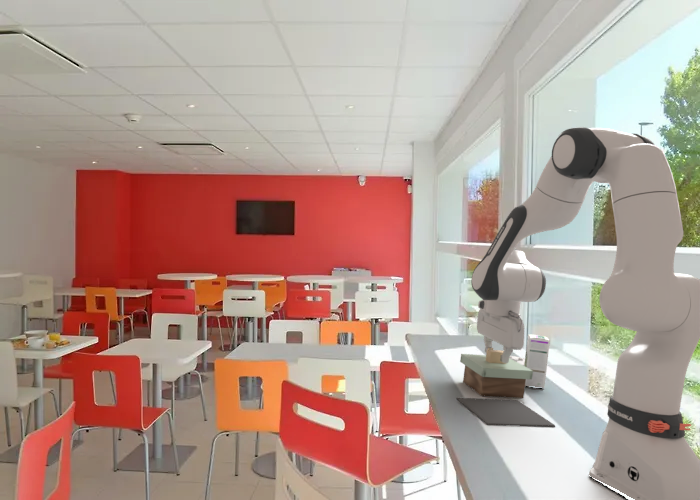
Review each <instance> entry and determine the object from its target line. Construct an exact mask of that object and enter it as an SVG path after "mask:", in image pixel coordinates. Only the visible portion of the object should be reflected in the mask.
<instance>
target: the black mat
mask: <svg viewBox="0 0 700 500" xmlns="http://www.w3.org/2000/svg"><path fill="white" fill-rule="evenodd" d="M456 400H457V401H458V402H459V403H461V404H462V405H463V406H464V407H465V408H467V409H468V410H469V411H470V412H471V413H472V414H474V415H475V416H476V417H478V419H479V420H480V421H482V422H483V423H485V425H487V426H506V425H520V426H519V427H546V428H548V427H549V428H555V427H556V425H555V424H554V423H552V422H551V421H550V420H548V419H546V418H545V417H543V416H542V415H540V414H539V413H538V412H536V411H535V410H533V409H531V408H530V407H528V406H527V405H525V404H524V403H523V402H521V401H520V400H518V399H504V398H503V399H502V398H501V399H500V398H479V397H475V398H474V397H456Z"/></svg>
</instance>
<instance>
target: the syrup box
mask: <svg viewBox="0 0 700 500" xmlns="http://www.w3.org/2000/svg"><path fill="white" fill-rule="evenodd" d="M550 342H551V340H550V339H549V338H548V336H545V335H542V334H541V335H540V334H529V333H528V334H527V339H526V347H525V355H524V356H525V357H524V359H525V363H524V366H525V367H527V368H529V369H531V370H532V371H533V375H532V379H526V381H525V387H526V386H535V387H542V388H544V389H545V385H546V378H547V376H546V375H547V369H548V361H549V360H548V359H549V350H550Z"/></svg>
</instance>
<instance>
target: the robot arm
mask: <svg viewBox="0 0 700 500" xmlns="http://www.w3.org/2000/svg"><path fill="white" fill-rule="evenodd" d="M594 182H596V183H598V184H608V186H609V189H610V194H611V204H612V211H613V218H614V227H615V234H616V235H615V236H616V253H615V261H614V266H613V269H612V272H611V274H610V276H609V277H608V278H607V279H606V280H605V282H604V283H603V285H602V286H601V289H600V291H599V292H600V293H599V306H600V309H601V312H602V314H603V316H605V318H606V319H607V320H608V322H610V323H611V324H612V325H615V326H617V327H621V328H623V329H627V330H630V331H633V332H636V333H635V335H634V337H633V338H632V340H631V342H630V344H629V345H628V346H627V347H626V348H625V349H624V350H623V351H622V352H621V354H620V355H619V357H618V360H617V365H616V372H615V378H614V385H613V391H612V396H610V398H609V401H608V405H607V417H608V422H607V424H606V426H605V428H604V429H603V430H604V431H603V432H602V434H601V438H600V442H599V446H598V449H597V454H596V457H595V460H594V462H593V465H592V468H591V469H590V470H589V473H588V476H589V475H590V476H591V477H593V478H595V479H597V480H599V481H601V482H603V483H605V484H607V485H609V486H611V487H613V488H615V489H617V490H619V491H620V492H622V493H624V494H626V495H627V496H629V497H631V498H633V499H635V500H700V459H699V457H698V455H696V453H695V451H694V449H693V448H692V447H691V446H690V444H689V443H688V441H687V440H686V438H685V436H686V432H685V431H691V430H692V429H690V428H689V427H692V424H691V423H684V419H683V415H682V413H681V411H680V409H681V402H682V398H683V390H684V385H685V379H686V374H687V371H688V368H689V364H690V362H691V359H692V357H693V354H694V352H695V350H696V348H697V345H698V343H699V342H700V278H697V277H695V276H693V275H690V274H686V273H677V272H675V270H674V263H675V255H676V251H677V247H678V245H679V244H680V243H681V242H682V240H683V238H684V228H683V221H682V215H681V211H680V205H679V198H678V194H677V188H676V183H675V179H674V176H673V172H672V170H671V167H670V164H669V162H668V159H667V157H666V155H665V152H664V151H663V150H662V148H660V147H658V146H657V145H655V143H654V141H652V140H651V139H649V137H646V136H645V135H641V134H638V133H628V132H624V131H621V130H620V131H619V130H615V129H611V128H603V127H591V128H589V127H586V126H579V127H577V126H576V127H571V128H567V129H565V130H564V131H562V132H561V133H560V134H559V135H558V136H557V137H556V139H555V140H554V143H553V146H552V150H551V156H550V158H549V159H548V161H547V163H546V165H545V166H544V169H542V172H541V175H540V176H539V178H538V181H537V183H536V186H535V188H534V190H533V191H532V193H531V194H530V195H529V196H528V198H527V199H526V200H525V201H523V203H521V204H520V205H518V206H515V207H514V208H513V209H512V210H511V211H510V212H509V214H508V216H507V217H506V219H505V220H504V222H503V224H502V225H501V227H500V229H499V230H498V233H497V234H496V236H495V237H494V239H493V241H492V243H491V244H490V246H489V248H488V249H487V252H486V253H485V255H484V257H483V258H482V259H481V260H480V261H479V262H478V263H477V265H476V266H475V268H474V269H473V272H472V274H471V275H472V276H471V282H470V283H471V288H472V290H473V291H474V293H475V294H476V295H477V296H478V297H479V298H480V299H481V300H479V301H478V304H477V305H478V313H477V322H476V330H477V333H478V334H479V335H481V336H483V342H484V353H487V350H494V347H493V341H494V342H495V343H497V344H499V345H501V346H502V349H503V350H502V351H504V352H503V354H502V355H501V356H500V361H501V362H503V363H508V362H509V357H510V356H512V353H514V350H516V351H521V350H522V349H523V347H524V344H525V343H524V341H525V323H524V321H523V319H522V316H521V314H520V309H521V302H522V303H534V302H536V301H538V300H539V299H541V297H542V296H543V295H544V293H545V291H546V284H547V280H546V275H545V274H544V272H543V270H542V269H541V268H540V267H538V266H535V265H534V264H532V263H531V262H530V261H529V260H528V259H527V257H526V253H525V252H524V251H523V250H520V249H516V247H517V246H518V244H519V243H520V242H521V241H522V240H524V239H525V238H527V237H529V236H532V235H536V234H538V233H542V232H547V231H554V230H557V229H561V228H563V227H566V226H567V225H569V224H571V223H572V222H573V220H574V219H575V218H576V217H577V215H578V214H579V212H580V211H581V208H582V206H583V203H584V201H585V198H586V196H587V195H588V191H589V190H590V187H591V185H592V184H593V183H594Z"/></svg>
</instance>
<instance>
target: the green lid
mask: <svg viewBox="0 0 700 500" xmlns="http://www.w3.org/2000/svg"><path fill="white" fill-rule="evenodd" d="M503 352H504V350H500V349H499V350H498V349H493V350H487V353H486V352H485V353H486V354H470V353H468V354H467V353H461V354H460V361H459V362H460V363H462V364H463V365H464V366H465V365H466V366H467V367H469V368H470V369H472V370H473V371H475V372H476V373H478V374H479V375H481V376H482V377H495V378H515V379H532V375H533V371H532V370H531V369H529V368H527V367H525V366H523V365H521V364H519V363H518V362H516V361H514V360H512V359H510V358H509V362H508V363H503V362H501V361H500V356H501V355H502V354H503Z"/></svg>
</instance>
